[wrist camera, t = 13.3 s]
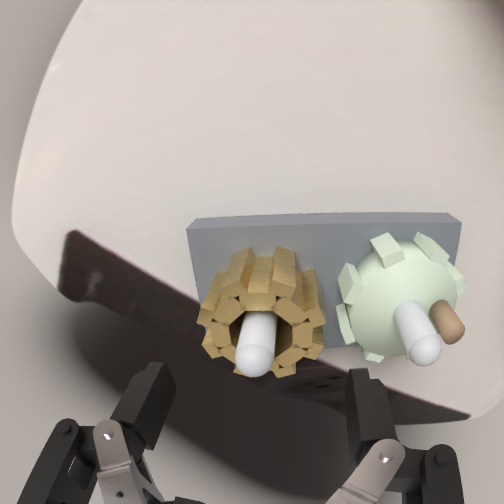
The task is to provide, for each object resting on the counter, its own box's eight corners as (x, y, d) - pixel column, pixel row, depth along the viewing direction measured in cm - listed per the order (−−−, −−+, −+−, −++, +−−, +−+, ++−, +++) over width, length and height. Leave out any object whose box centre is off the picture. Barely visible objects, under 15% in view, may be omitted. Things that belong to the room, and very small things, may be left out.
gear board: (447, 213, 16) (523, 270, 9) (425, 321, 20) (465, 401, 12) (196, 218, 19) (135, 284, 11) (215, 329, 22) (184, 416, 15)
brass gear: (320, 244, 16) (329, 278, 13) (317, 333, 19) (321, 377, 15) (208, 247, 17) (187, 280, 14) (222, 333, 20) (209, 375, 16)
